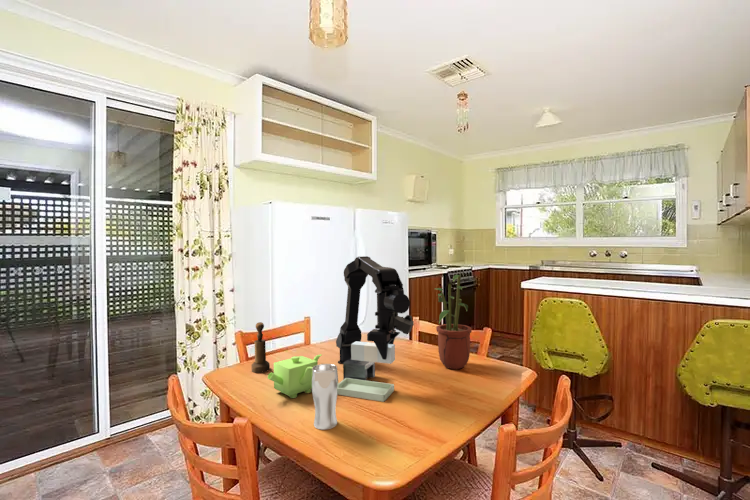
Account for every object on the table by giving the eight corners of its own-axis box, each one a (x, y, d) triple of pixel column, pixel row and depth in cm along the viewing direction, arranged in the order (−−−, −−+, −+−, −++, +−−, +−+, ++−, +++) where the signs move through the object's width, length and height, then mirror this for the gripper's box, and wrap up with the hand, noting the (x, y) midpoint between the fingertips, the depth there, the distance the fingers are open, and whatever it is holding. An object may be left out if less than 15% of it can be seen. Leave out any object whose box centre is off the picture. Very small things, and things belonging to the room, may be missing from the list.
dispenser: (343, 382, 130) (343, 362, 130) (354, 373, 138) (354, 355, 138) (366, 385, 126) (366, 365, 126) (376, 376, 135) (376, 357, 135)
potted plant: (478, 366, 144) (478, 274, 143) (455, 377, 133) (454, 277, 133) (440, 356, 157) (440, 272, 156) (416, 365, 146) (415, 274, 145)
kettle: (322, 382, 129) (321, 350, 129) (317, 400, 115) (316, 363, 115) (278, 383, 129) (277, 350, 129) (267, 401, 115) (266, 364, 114)
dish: (333, 393, 120) (332, 387, 120) (346, 383, 128) (345, 377, 128) (384, 401, 113) (384, 395, 113) (394, 390, 122) (394, 384, 122)
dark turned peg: (247, 371, 141) (246, 323, 141) (259, 366, 147) (258, 320, 147) (262, 373, 139) (261, 324, 138) (273, 368, 145) (272, 321, 144)
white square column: (351, 359, 123) (351, 344, 123) (356, 356, 126) (355, 341, 126) (391, 363, 118) (390, 347, 118) (394, 359, 122) (394, 344, 122)
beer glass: (313, 418, 103) (312, 363, 103) (339, 417, 104) (338, 362, 103) (311, 431, 96) (310, 372, 96) (338, 430, 97) (337, 371, 96)
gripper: (402, 315, 109) (403, 369, 109) (418, 304, 126) (418, 351, 126) (366, 313, 113) (366, 365, 113) (386, 303, 130) (386, 348, 130)
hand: (386, 357), depth 120 cm, fingers closed on white square column, 4 cm apart
